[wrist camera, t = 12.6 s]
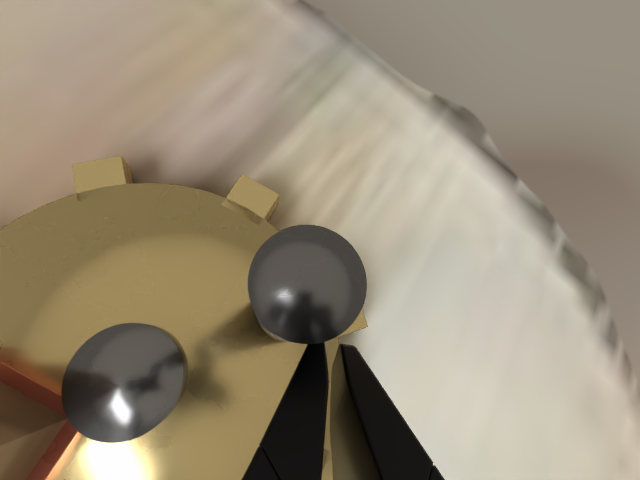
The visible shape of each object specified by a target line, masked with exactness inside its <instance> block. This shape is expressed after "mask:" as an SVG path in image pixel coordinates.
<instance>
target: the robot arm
mask: <svg viewBox="0 0 640 480" xmlns="http://www.w3.org/2000/svg"><path fill="white" fill-rule="evenodd" d="M328 389H329V374H328V364H327V355H326V346H325V342H322V343H317V344H307V347H306V349H305V351H304V353H303V355H302V357H301V359H300V361H299V363H298V365H297V367H296V369H295V371H294V374H293V376H292V378H291V380H290V382H289V384H288V386H287V388H286V390H285V392H284V394H283V396H282V398H281V400H280V403H279V405H278V407H277V409H276V411H275V413H274V415H273V417H272V419H271V421H270V423H269V425H268V427H267V430H266V432H265V434H264V436H263V438H262V440H261V442H260V444H259V447H258V448H257V450H256V452H255V454H254V456H253V458H252V460H251V462H250V464H249V466H248V468H247V470H246V472H245V474H244V476H243V478H242V480H322V467H323V454H324V441H325V428H326V415H327V402H328ZM330 444H331V457H332V470H333V480H445V479H444V478H443V476H442V475H441V473H440V472H439V470H438V469H437V468H436V466H434V465H433V462H432V460H431V459H430V457H429V456H428V454H427V453H426V451H425V450H424V448H423V447H422V445H421V444H420V442H419V441H418V439H417V438H416V436H415V435H414V433H413V432H412V430H411V429H410V427H409V426H408V424H407V423H406V421H405V420H404V418H403V417H402V415H401V414H400V412H399V411H398V409H397V408H396V406H395V405H394V403H393V402H392V400H391V399H390V397H389V396H388V395H387V393H386V392H385V390H384V389H383V387H382V386H381V384H380V383H379V381H378V380H377V378H376V377H375V375H374V374H373V372H372V371H371V369H370V368H369V366H368V365H367V363H366V362H365V360H364V359H363V357H362V356H361V354H360V353H359V351H358V350H357V348H356V347H355V346H353V345H348V344H340V345H339V347H338V349H337V352H336V356H335V359H334V362H333V365H332V371H331V399H330Z"/></svg>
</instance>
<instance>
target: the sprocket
mask: <svg viewBox="0 0 640 480" xmlns="http://www.w3.org/2000/svg"><path fill="white" fill-rule="evenodd" d="M72 167H73V174H74V181H75V188H76V194H73V195H70V196H68V197H65V198H62V199H59V200H57V201H54V202H51V203H48V204H46V205H44V206H42V207H40V208H38V209H36V210H34V211H32V212H30V213H28V214H26V215H24V216H22V217H20V218H18V219H17V220H15V221H13V222H12V223H10V224H9V225H7V226H5V227H4V228H2V229H0V381H1V382H3V383H5V384H7V385H9V386H10V387H12V388H14V389H16V390H18V391H20V392H21V393H23V394H25V395H27V396H29V397H31V398H33V399H34V400H36V401H38V402H40V403H42V404H44V405H45V406H47V407H49V408H51V409H53V410H55V411H57V412H58V413H60V414H62V415H64V416H66V417H67V418H68V419H67V421H66V422H65V424H64V425H63V427H62V428H61V430H60V431H59V433H58V434H57V435H56V437H55V438H54V440H53V441H52V443H51V444H50V446H49V447H48V448H47V450H46V451H45V453H44V454H43V456H42V457H41V459H40V460H39V461H38V463H37V464H36V466H35V467H34V469H33V470H32V472H31V473H30V474H29V476H28V477H27V479H26V480H242V478H243V476H244V474H245V472H246V470H247V468H248V466H249V464H250V462H251V460H252V458H253V456H254V454H255V452H256V450H257V448H258V447H259V444H260V442H261V440H262V438H263V436H264V434H265V432H266V430H267V427H268V425H269V423H270V421H271V419H272V417H273V415H274V413H275V411H276V409H277V407H278V405H279V403H280V400H281V398H282V396H283V394H284V392H285V390H286V388H287V386H288V384H289V382H290V380H291V378H292V376H293V374H294V371H295V369H296V367H297V365H298V363H299V361H300V359H301V357H302V355H303V353H304V351H305V349H306V347H307V344H317V343H322V342H325V346H326V355H327V364H328V374H329V389H328V402H327V415H326V428H325V441H324V454H323V467H322V480H333V470H332V457H331V444H330V399H331V371H332V365H333V362H334V359H335V356H336V352H337V349H338V347H339V341H338V337H339V336H342V335H345V334H348V333H351V332H354V331H357V330H360V329H363V328H366V327H368V326H367V323H366V320H365V317H364V314H363V311H362V307H363V304H364V301H365V297H366V289H367V283H366V274H365V270H364V266H363V264H362V261H361V259H360V257H359V255H358V254H357V252H356V251H355V249H354V248H353V247H352V245H351V244H350V243H349V242H348V241H347V240H345V239H344V238H343V237H342V236H340V235H339V234H337V233H335V232H333V231H331V230H329V229H327V228H324V227H320V226H315V225H298V226H292V227H289V228H286V229H283V230H281V231H278V230H277V229H276V228H275V227H274V226H272V225H271V224H270V223H269V222H268V221H267V220H268V219H269V217H270V216H271V214H272V212H273V211H274V209H275V208H276V206H277V204H278V201H279V194H278V193H276V192H274V191H272V190H270V189H269V188H267V187H265V186H263V185H261V184H259V183H258V182H256V181H254V180H252V179H250V178H248V177H247V176H245V175H243V174H242V175H241V177H240V178H239V180H238V181H237V182H236V184H235V185H234V187H233V188H232V190H231V191H230V193H229V194H228V195H227V197H226V198H225V197H222V196H219V195H216V194H213V193H210V192H207V191H204V190H201V189H196V188H191V187H186V186H181V185H172V184H161V183H133V180H132V175H131V170H130V167H129V166H128V164H127V163H126V162H125V160H124V159H123V158H122V157H121V156H117V157H112V158H106V159H100V160H95V161H89V162H83V163H77V164H72Z"/></svg>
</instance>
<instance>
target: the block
mask: <svg viewBox="0 0 640 480" xmlns="http://www.w3.org/2000/svg"><path fill="white" fill-rule="evenodd" d="M67 419H68V418H67V417H66V416H64V415H62V414H60V413H58V412H57V411H55V410H53V409H51V408H49V407H47V406H45V405H44V404H42V403H40V402H38V401H36V400H34V399H33V398H31V397H29V396H27V395H25V394H23V393H21V392H20V391H18V390H16V389H14V388H12V387H10V386H9V385H7V384H5V383H3V382H1V381H0V480H26V479H27V477H28V476H29V474H30V473H31V472H32V470H33V469H34V467H35V466H36V464H37V463H38V461H39V460H40V459H41V457H42V456H43V454H44V453H45V451H46V450H47V448H48V447H49V446H50V444H51V443H52V441H53V440H54V438H55V437H56V435H57V434H58V433H59V431H60V430H61V428H62V427H63V425H64V424H65V422H66V421H67Z"/></svg>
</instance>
